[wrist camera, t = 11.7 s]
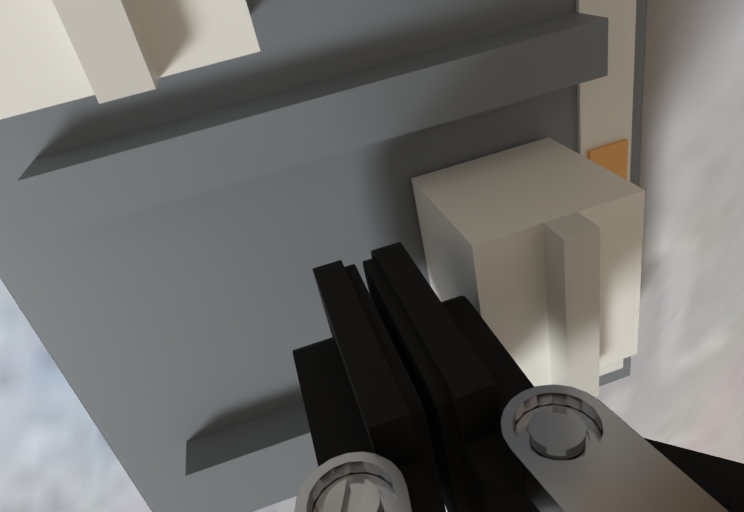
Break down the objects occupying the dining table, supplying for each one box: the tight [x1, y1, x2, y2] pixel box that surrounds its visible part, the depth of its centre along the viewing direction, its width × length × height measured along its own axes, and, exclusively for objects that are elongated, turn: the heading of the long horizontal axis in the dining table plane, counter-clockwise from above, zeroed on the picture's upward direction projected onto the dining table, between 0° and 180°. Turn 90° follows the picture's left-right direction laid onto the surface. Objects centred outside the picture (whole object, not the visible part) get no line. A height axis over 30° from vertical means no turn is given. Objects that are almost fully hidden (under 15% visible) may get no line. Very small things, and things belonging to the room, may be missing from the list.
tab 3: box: [411, 137, 645, 397], centre depth 11 cm, size 4×3×4 cm
